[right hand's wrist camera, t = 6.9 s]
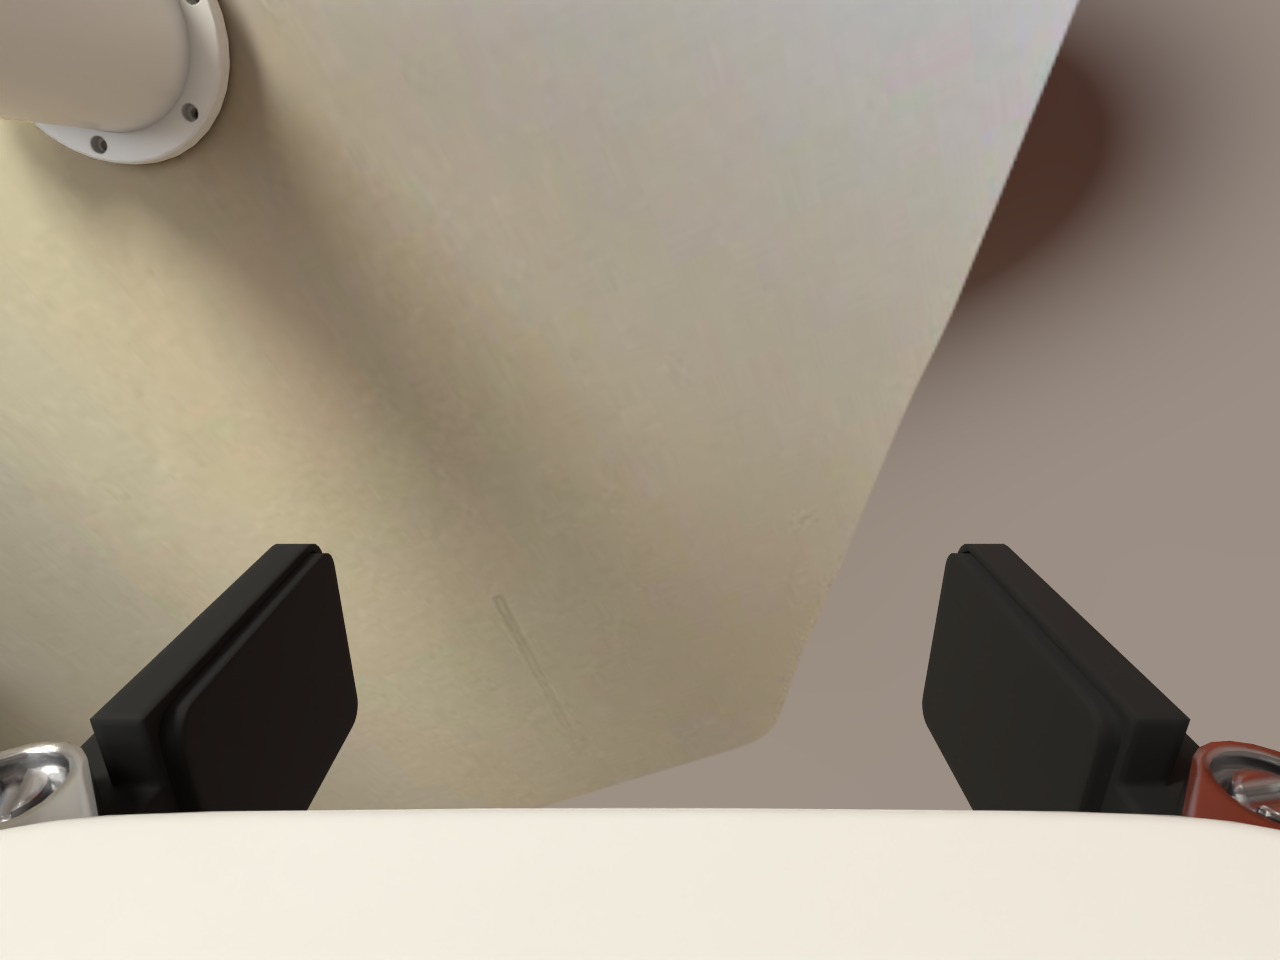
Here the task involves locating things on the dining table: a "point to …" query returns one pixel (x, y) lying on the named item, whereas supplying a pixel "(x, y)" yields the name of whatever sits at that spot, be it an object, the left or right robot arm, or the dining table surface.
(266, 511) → the dining table surface
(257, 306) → the dining table surface
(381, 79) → the dining table surface
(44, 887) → the right robot arm
